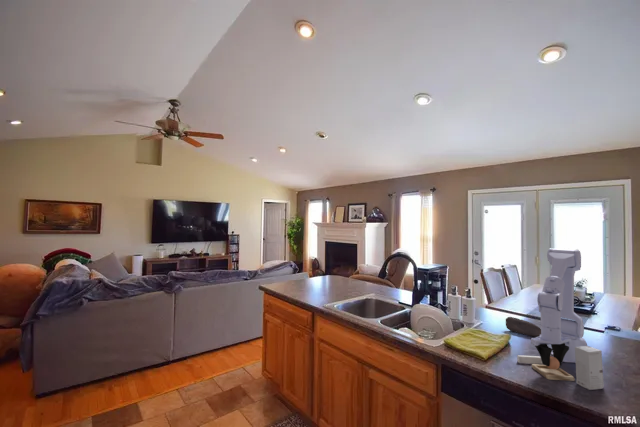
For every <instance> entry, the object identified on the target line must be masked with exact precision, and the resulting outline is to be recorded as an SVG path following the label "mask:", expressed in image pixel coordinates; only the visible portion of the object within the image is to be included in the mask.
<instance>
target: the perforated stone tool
mask: <svg viewBox="0 0 640 427" xmlns="http://www.w3.org/2000/svg"><path fill="white" fill-rule="evenodd" d="M505 327H506V329H507V330H509V331H511V332H514V333H515V334H517V333H518V334H521V335H524V336H530V337H534V338H536V337H540V335H541V327H539V326H538V325H536V324H534V323H532V322H530V321H527V320H525V319H520V318H517V317H512V316H508V317H507V318H505Z"/></svg>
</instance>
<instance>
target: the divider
mask: <svg viewBox="0 0 640 427" xmlns="http://www.w3.org/2000/svg"><path fill="white" fill-rule="evenodd" d="M516 359H517V363H518V364H527V365H528V364H530V365H532V364H539V365H544V364H543V363H542V360H541V357H540V355H539V356H538V355H525V354H524V355H523V354H522V355H521V354H520V355H519V354H517V357H516Z"/></svg>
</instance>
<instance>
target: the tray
mask: <svg viewBox="0 0 640 427" xmlns="http://www.w3.org/2000/svg"><path fill="white" fill-rule="evenodd" d="M531 368H532V369H533V370H535V371H536V372H538V374H540V375H541V376H543V378H545V379H546V380H552V381H567V382H568V381H569V382H575V380H576V378H575V377H574V376H573V375H572V374H570V373H568V372H567V371H565V370H564V369H562V368H560V367H559V368H558V369H555V370H553V369H550V368H548V367H547V366H546V365H544V364H531Z"/></svg>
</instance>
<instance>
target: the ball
mask: <svg viewBox="0 0 640 427" xmlns="http://www.w3.org/2000/svg"><path fill="white" fill-rule="evenodd" d="M547 367H548V368H550V369H553V370H555V369H558V368H560V363H559V361H558V360H557V359H556V358H555V357H553V355H550V365H549V366H547Z"/></svg>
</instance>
